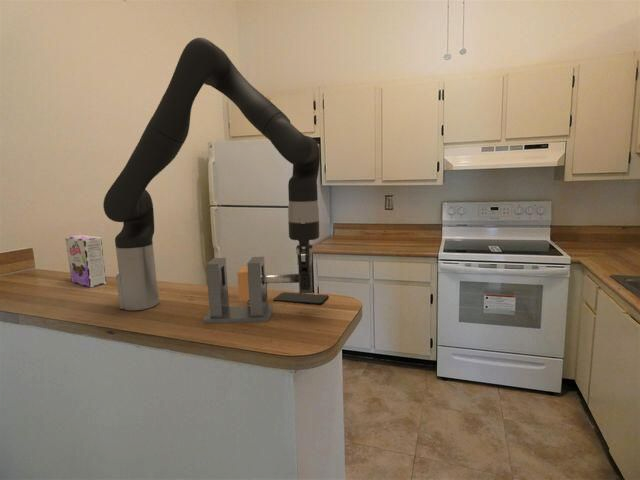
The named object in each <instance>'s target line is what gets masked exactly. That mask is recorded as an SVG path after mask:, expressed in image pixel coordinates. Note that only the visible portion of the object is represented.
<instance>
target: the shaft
mask: <svg viewBox="0 0 640 480" xmlns="http://www.w3.org/2000/svg"><path fill="white" fill-rule="evenodd" d="M297 266H298V265H297ZM297 268H298V269H299V266H298V267H297ZM302 270H307V268H306V267H305V268H302ZM309 277H310V289H309V290H301V280H300V275H299V273H283V274H281V273H279V274H265V275H262V284H265V283H267V284H294V283H295V284H298V288H299V292H298V293H301V294H313V293H312V292H313V290H312V289H313V287H312V285H313V284H312V281H313V280H312V279H313V278H312V265H311V266H310V275H309Z"/></svg>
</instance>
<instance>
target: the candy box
mask: <svg viewBox="0 0 640 480" xmlns="http://www.w3.org/2000/svg"><path fill="white" fill-rule="evenodd" d="M102 240H103V239H102V237H101V236H93V235H87V234H86V235H85V234H74V235H68V236H65V244H66V245H65V246H66V252H67V256H68V257H67V258H68V266H69V272H70V273H69V274H70V277H71V278H70V279H71V282H72V283H73V284H77V285H80V286H83V287H88V288H94V287H99V286H102V285H107V275H106V267H105V258H104V250H103V242H102Z"/></svg>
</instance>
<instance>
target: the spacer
mask: <svg viewBox="0 0 640 480" xmlns="http://www.w3.org/2000/svg"><path fill="white" fill-rule="evenodd" d="M237 284H238V285H237V286H238V298H239V301H247V300H250V297H249V281H248V265H242V266H241V268H239V270H238V271H237Z"/></svg>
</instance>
